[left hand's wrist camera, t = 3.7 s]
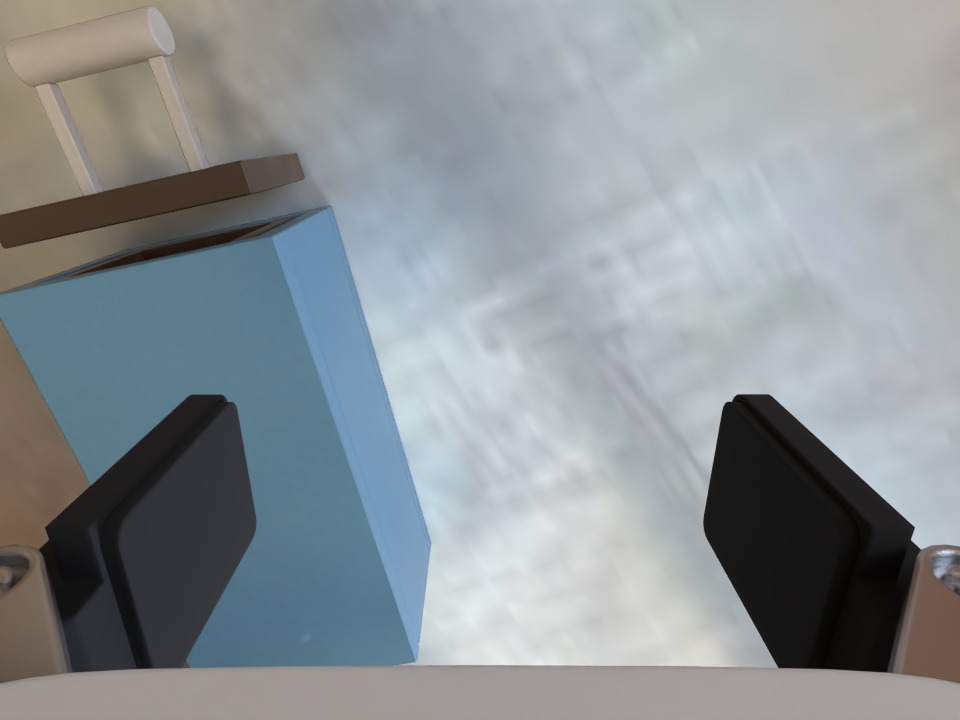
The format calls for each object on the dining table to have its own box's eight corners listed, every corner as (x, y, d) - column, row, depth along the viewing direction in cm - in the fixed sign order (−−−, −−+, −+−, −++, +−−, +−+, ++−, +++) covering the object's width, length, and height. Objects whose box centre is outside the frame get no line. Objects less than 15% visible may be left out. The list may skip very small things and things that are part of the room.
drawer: (41, 66, 26) (-103, 46, 19) (254, 13, 25) (178, -26, 19) (245, 530, 35) (193, 619, 29) (404, 503, 34) (387, 587, 28)
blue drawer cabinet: (123, 250, 30) (-13, 296, 22) (331, 205, 29) (272, 235, 21) (263, 571, 38) (203, 695, 29) (431, 543, 37) (417, 662, 29)
